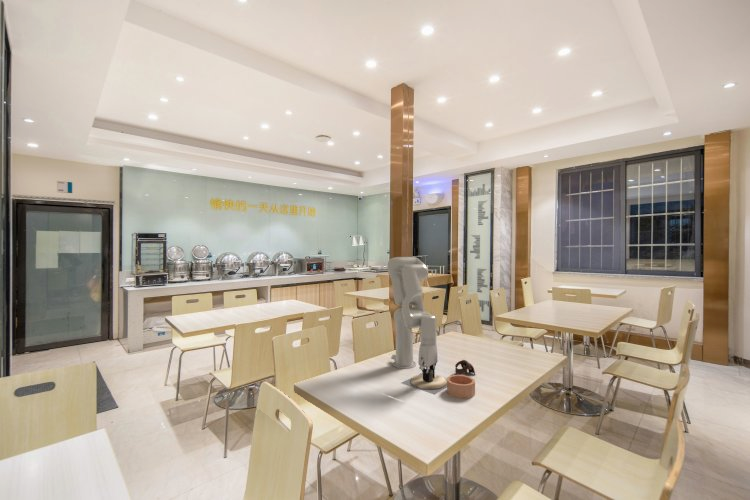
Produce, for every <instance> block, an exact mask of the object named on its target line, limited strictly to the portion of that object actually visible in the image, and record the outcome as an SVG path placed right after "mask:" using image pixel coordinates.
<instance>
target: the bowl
mask: <svg viewBox="0 0 750 500" xmlns="http://www.w3.org/2000/svg"><path fill="white" fill-rule="evenodd" d="M446 379H447V388H446V393H447V394H448V395H449V396H451V397H454V398H457V399H471V398H473V397H475V395H476V381H475V379H474V377H473V378H472V377H471V376H468V375H465V374H454V375H453V374H451V375H450V376H447V377H446Z"/></svg>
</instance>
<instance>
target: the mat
mask: <svg viewBox="0 0 750 500" xmlns="http://www.w3.org/2000/svg"><path fill="white" fill-rule="evenodd" d="M420 374H423V372H421V373H418V375H420ZM411 378H412V377H411ZM411 378H408V379H406V380H404V381H402V382H401V384H402V385H405V386H409V387H410V388H411V387H412V388H414V389H418V390H420V391H424V392H426V393H429V394H433V395H437V394H438V393H440V392H441V391H443V390H445V389H447V385H446V386H445V387H443V388H441V389H434V390H428V389H421V388H418V387H415V386H414V385H412V383H411ZM444 378H445V377H444ZM445 379H446V381H447V377H446V378H445Z"/></svg>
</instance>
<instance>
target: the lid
mask: <svg viewBox="0 0 750 500" xmlns="http://www.w3.org/2000/svg"><path fill="white" fill-rule="evenodd" d="M428 373H429V381H428V382H427V381H424V380H423V374H421V373H419V374H420V375H419V374H416V375H414V376H412V377H411V383H412V385H414V386H415V387H418V388H421V389H428V390H434V389H441V388H443V387H445V386H446V385H447V381H446V379H447V378H446V379H445V377H443V376H440V375H438V374H435V378H434V379H433V370H432V369H428Z"/></svg>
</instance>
